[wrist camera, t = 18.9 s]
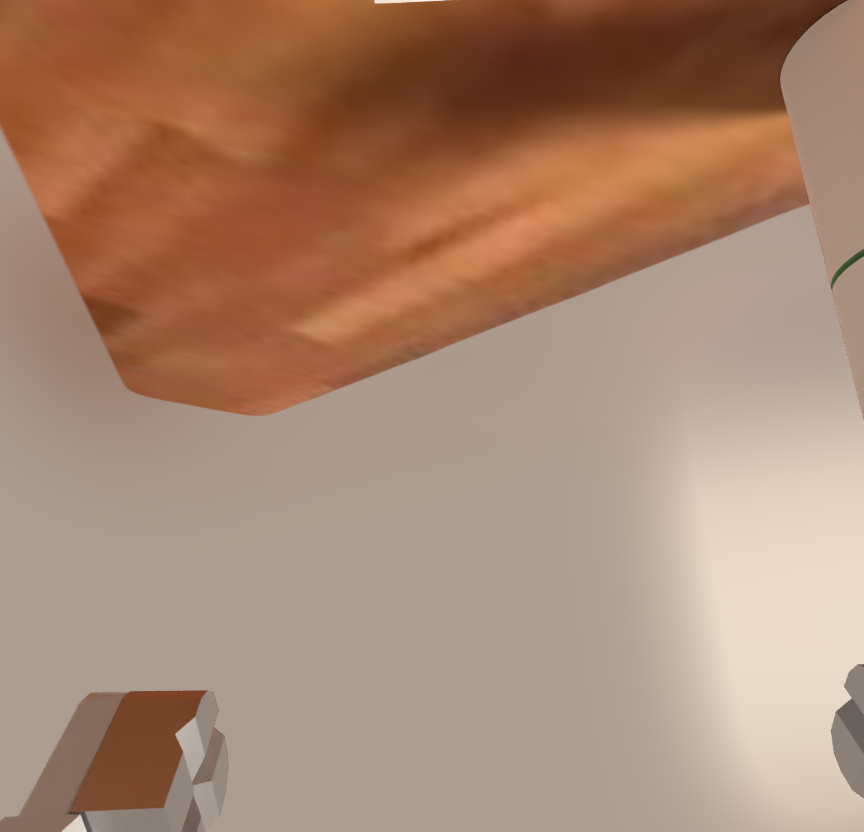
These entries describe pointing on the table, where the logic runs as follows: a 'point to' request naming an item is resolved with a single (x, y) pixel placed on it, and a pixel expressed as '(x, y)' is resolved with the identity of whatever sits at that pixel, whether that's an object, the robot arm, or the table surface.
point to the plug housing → (396, 0)
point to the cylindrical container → (834, 156)
